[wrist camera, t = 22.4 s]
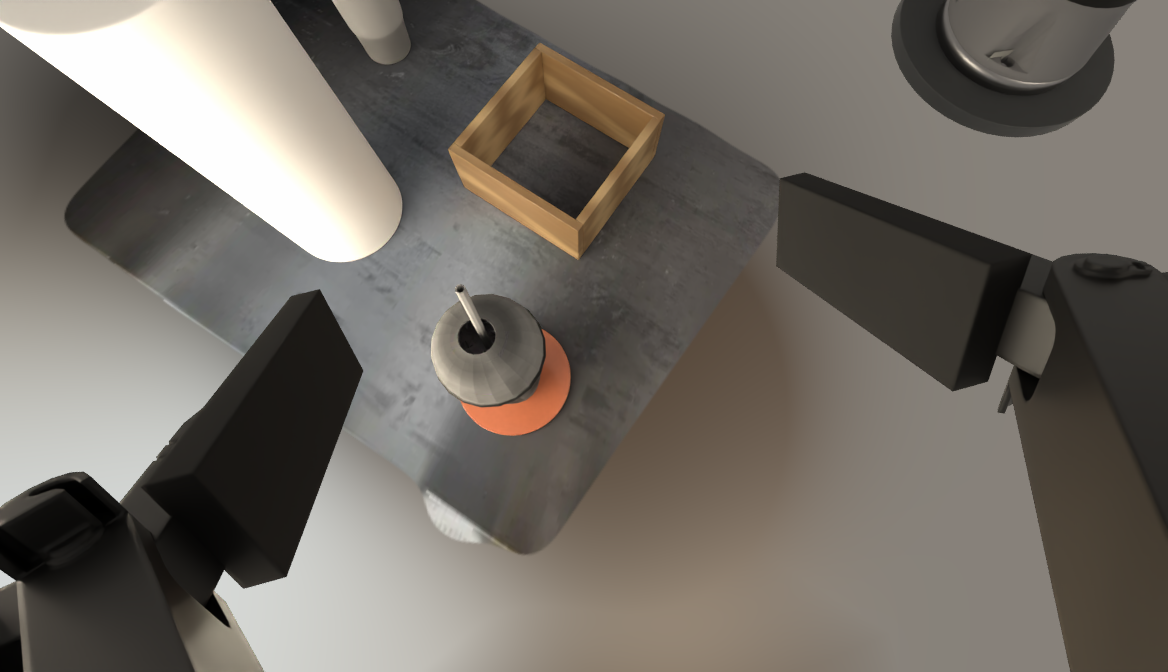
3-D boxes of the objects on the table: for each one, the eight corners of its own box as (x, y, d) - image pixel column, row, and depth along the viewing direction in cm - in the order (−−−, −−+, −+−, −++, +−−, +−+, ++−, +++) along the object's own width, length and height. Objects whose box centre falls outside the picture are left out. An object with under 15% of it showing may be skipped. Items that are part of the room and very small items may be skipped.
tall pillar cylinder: (425, 205, 46) (252, -69, 22) (343, 284, 44) (52, 79, 20) (350, 142, 48) (110, -179, 23) (267, 215, 46) (-88, -52, 21)
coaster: (555, 312, 44) (555, 310, 43) (583, 418, 41) (583, 418, 41) (448, 338, 43) (446, 337, 42) (470, 448, 41) (469, 448, 40)
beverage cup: (466, 415, 41) (362, 382, 21) (478, 333, 43) (393, 234, 23) (550, 423, 41) (523, 397, 21) (559, 341, 42) (542, 248, 23)
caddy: (544, 90, 49) (539, 41, 44) (655, 155, 48) (665, 114, 42) (464, 187, 47) (447, 149, 41) (578, 260, 45) (578, 231, 39)
